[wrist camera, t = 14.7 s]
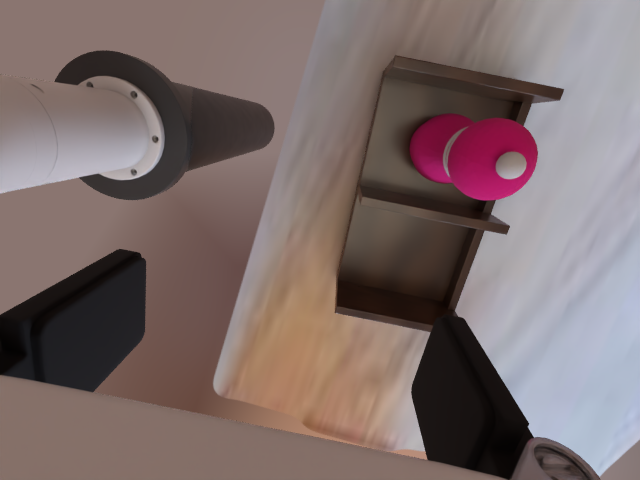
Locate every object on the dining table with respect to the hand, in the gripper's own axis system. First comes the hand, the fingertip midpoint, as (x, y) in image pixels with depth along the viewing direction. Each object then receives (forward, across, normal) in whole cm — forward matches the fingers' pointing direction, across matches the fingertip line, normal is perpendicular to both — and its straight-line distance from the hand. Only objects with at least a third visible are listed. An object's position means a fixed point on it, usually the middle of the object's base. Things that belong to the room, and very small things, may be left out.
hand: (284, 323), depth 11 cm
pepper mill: (+34, -12, -6) cm, 36 cm away
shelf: (+36, -12, +1) cm, 38 cm away
